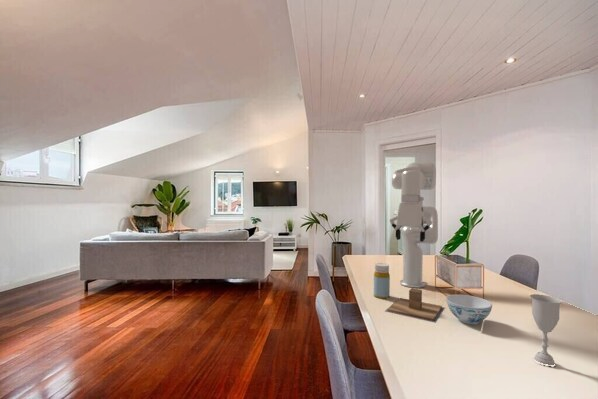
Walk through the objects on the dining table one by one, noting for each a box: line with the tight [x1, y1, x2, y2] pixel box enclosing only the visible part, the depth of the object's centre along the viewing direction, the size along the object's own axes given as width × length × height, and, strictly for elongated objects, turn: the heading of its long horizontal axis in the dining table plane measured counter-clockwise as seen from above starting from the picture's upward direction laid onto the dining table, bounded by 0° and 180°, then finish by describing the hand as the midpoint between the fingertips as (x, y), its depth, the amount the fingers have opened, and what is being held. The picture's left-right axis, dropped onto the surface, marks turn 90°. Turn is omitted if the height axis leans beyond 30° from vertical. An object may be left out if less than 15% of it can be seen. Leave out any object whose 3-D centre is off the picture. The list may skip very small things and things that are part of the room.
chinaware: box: [445, 294, 493, 325], centre depth 115 cm, size 15×15×8 cm
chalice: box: [529, 294, 563, 365], centre depth 87 cm, size 7×7×18 cm
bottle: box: [373, 262, 391, 300], centre depth 142 cm, size 7×7×15 cm
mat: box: [384, 298, 446, 323], centre depth 126 cm, size 19×19×1 cm
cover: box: [387, 287, 443, 322], centre depth 126 cm, size 17×17×8 cm
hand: (409, 240), depth 131 cm, fingers open, 9 cm apart
